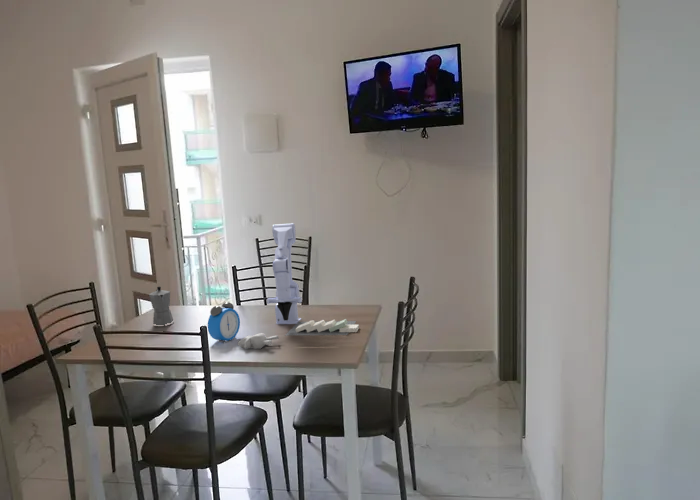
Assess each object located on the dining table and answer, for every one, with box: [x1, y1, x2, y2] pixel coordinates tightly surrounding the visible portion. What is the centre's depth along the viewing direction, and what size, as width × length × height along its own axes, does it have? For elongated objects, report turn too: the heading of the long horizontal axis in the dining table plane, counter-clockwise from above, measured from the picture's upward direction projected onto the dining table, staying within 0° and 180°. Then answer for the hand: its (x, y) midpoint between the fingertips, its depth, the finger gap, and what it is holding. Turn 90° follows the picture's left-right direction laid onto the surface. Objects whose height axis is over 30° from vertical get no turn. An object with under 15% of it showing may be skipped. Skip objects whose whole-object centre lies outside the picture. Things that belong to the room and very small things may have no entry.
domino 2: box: [306, 319, 325, 333], centre depth 225 cm, size 2×5×7 cm
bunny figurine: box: [237, 332, 280, 350], centre depth 211 cm, size 10×5×15 cm
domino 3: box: [317, 319, 337, 332], centre depth 224 cm, size 2×5×7 cm
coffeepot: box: [148, 286, 174, 325], centre depth 254 cm, size 15×9×18 cm, turn 26°
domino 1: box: [295, 319, 316, 332], centre depth 226 cm, size 2×5×7 cm
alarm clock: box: [207, 301, 241, 343], centre depth 222 cm, size 13×6×15 cm, turn 151°
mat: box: [284, 320, 357, 337], centre depth 229 cm, size 26×19×1 cm
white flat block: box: [339, 324, 360, 333], centre depth 223 cm, size 2×5×7 cm
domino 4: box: [329, 318, 348, 332], centre depth 223 cm, size 2×5×7 cm
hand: (286, 319), depth 227 cm, fingers closed
